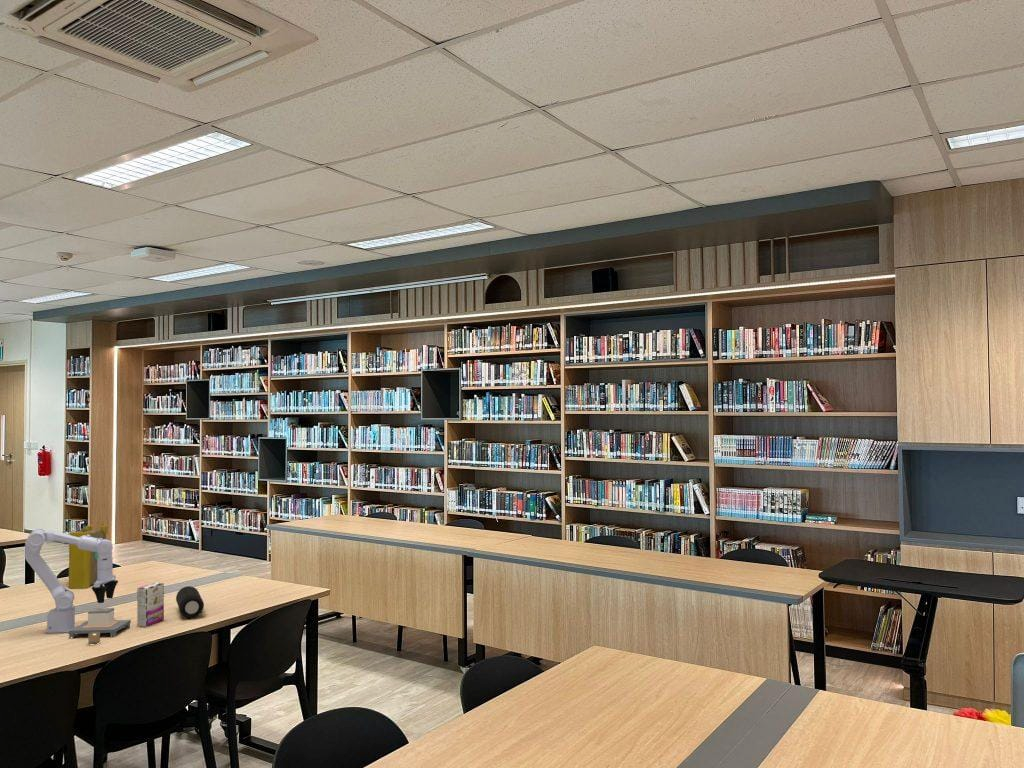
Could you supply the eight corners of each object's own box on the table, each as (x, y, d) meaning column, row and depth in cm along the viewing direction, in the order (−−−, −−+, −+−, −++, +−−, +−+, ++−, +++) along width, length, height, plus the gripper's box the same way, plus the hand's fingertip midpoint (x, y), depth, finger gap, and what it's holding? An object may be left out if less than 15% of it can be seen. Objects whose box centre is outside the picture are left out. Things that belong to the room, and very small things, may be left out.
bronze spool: (86, 645, 284) (86, 635, 285) (91, 642, 288) (91, 632, 289) (96, 645, 285) (96, 634, 285) (102, 641, 289) (102, 631, 289)
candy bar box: (154, 619, 320) (154, 581, 321) (164, 620, 319) (164, 582, 320) (136, 626, 309) (136, 587, 310) (146, 627, 308) (147, 588, 309)
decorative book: (87, 588, 381) (88, 530, 382) (66, 588, 381) (67, 530, 382) (108, 580, 401) (109, 524, 402) (88, 580, 401) (89, 525, 402)
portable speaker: (175, 608, 340) (175, 586, 340) (198, 605, 344) (198, 583, 345) (179, 621, 317) (180, 598, 318) (204, 618, 322) (204, 595, 322)
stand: (68, 638, 294) (68, 630, 294) (86, 628, 308) (86, 620, 308) (114, 637, 295) (114, 628, 295) (130, 627, 309) (130, 619, 309)
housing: (107, 625, 299) (108, 611, 299) (87, 626, 299) (88, 611, 299) (113, 622, 304) (114, 607, 304) (94, 623, 304) (94, 608, 304)
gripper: (106, 571, 306) (106, 604, 306) (122, 564, 321) (123, 595, 320) (88, 572, 306) (89, 605, 305) (106, 565, 320) (106, 596, 320)
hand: (105, 600), depth 313 cm, fingers open, 7 cm apart
